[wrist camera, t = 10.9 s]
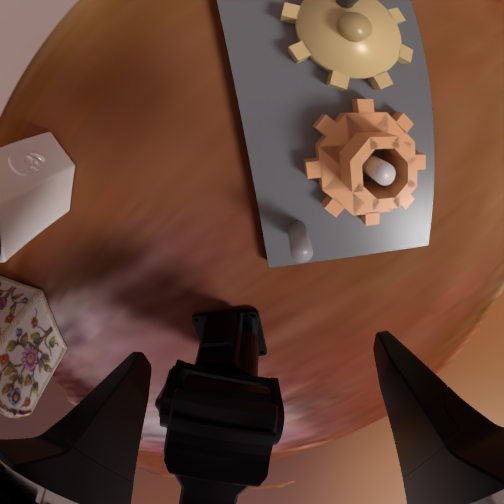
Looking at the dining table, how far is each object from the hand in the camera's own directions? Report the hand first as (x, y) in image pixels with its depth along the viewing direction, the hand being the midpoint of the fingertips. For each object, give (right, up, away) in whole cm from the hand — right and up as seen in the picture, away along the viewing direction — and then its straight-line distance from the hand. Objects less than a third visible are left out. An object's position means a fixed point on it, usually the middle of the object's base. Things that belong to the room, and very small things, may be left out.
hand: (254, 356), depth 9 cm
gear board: (+6, +13, +7) cm, 16 cm away
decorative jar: (-32, -5, +20) cm, 38 cm away
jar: (-19, +11, +10) cm, 24 cm away
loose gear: (+8, +10, +8) cm, 15 cm away
